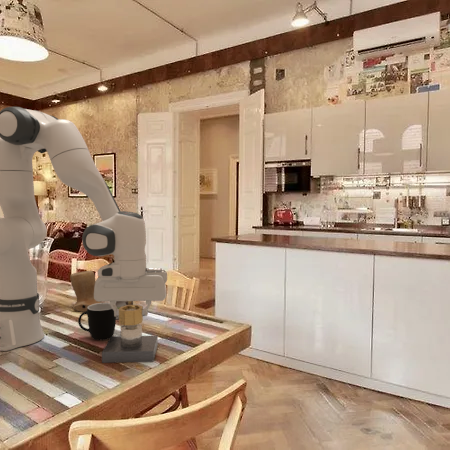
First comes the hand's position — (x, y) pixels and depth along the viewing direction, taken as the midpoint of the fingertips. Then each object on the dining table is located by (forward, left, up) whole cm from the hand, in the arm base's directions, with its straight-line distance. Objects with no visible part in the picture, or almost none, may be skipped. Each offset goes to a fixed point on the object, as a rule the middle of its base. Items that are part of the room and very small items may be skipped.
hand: (131, 315), depth 113 cm
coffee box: (-9, +36, -12) cm, 39 cm away
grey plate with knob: (0, 0, -11) cm, 11 cm away
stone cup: (-26, +48, -12) cm, 56 cm away
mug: (-13, +14, -12) cm, 22 cm away
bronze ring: (0, 0, -2) cm, 2 cm away
